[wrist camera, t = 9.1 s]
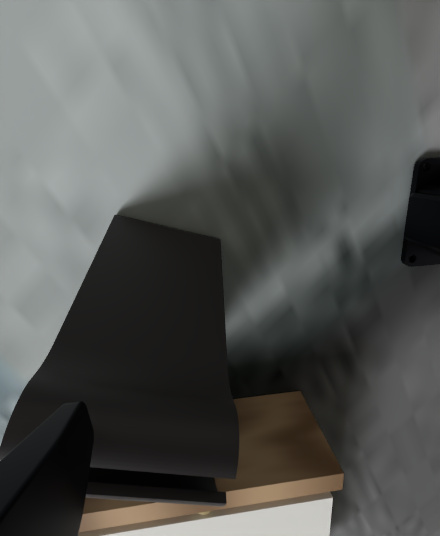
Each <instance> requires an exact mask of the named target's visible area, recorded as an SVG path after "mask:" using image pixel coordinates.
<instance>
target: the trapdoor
mask: <svg viewBox="0 0 440 536" xmlns="http://www.w3.org/2000/svg"><path fill="white" fill-rule="evenodd" d="M332 502H333V497H332V495H331V492H325V493H319V494H312V495H306V496H300V497H294V498H288V499H282V500H275V501H269V502H263V503H257V504H251V505H245V506H238V507H232V508H226V509H220V510H214V511H211V512H210V513H208V514H206V515H201V514H199V513H195V514H189V515H183V516H177V517H171V518H164V519H158V520H152V521H146V522H140V523H134V524H127V525H121V526H115V527H109V528H103V529H96V530H90V531H84V532H79V533H78V536H329V534H330V523H331V512H332Z"/></svg>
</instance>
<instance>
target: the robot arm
mask: <svg viewBox="0 0 440 536" xmlns="http://www.w3.org/2000/svg"><path fill="white" fill-rule="evenodd" d="M424 164H426V168H425V170H424V171H423V165H424ZM411 256H412V259H411V260H410V261H409V258H410V257H411ZM401 261H402V263H403V264H405V265H407V266H411V267H412V266H424V265H435V264H440V157H438V158H422V159H420V160H418V161H417V162H416V164H415V166H414V171H413V178H412V185H411V192H410V197H409V203H408V210H407V217H406V225H405V232H404V241H403V248H402V255H401ZM93 443H94V430H93V426H92V423H91V419H90V416H89V413H88V409H87V406H86V404H85V403H84V402H83V401H76V402H70V403H65V404H63V405H62V406H61V407H60V408H59V409H57V410H56V411H55V412H54V413H53V414H52V415H51V416H50V417H49V418H47V419H46V420H45V421H44V422H43V423H42V424H41V425H40V426H39V427H37V428H36V429H35V430H34V431H33V432H32V433H31V434H30V435H29V436H27V437H26V438H25V439H24V440H23V441H22V442H21V443H20V444H18V445H17V446H16V447H15V448H14V449H13V450H12V451H11V452H10V453H8V454H7V455H6V456H5V457H4V458H3V459H2V460H1V461H0V536H78V533H79V529H80V525H81V520H82V516H83V510H84V504H85V497H86V491H87V484H88V477H89V470H90V463H91V456H92V450H93Z"/></svg>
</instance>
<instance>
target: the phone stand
mask: <svg viewBox="0 0 440 536" xmlns="http://www.w3.org/2000/svg"><path fill="white" fill-rule="evenodd" d="M76 401H83V402H84V403H85V404H86V406H87V409H88V413H89V416H90V419H91V423H92V426H93V430H94V443H93V450H92V456H91V463H90V470H89V477H88V484H87V491H86V497H85V498H97V499H113V500H128V501H143V502H159V503H174V504H189V505H205V506H220V507H223V506H225V505H226V504H227V501H226V492H219V491H218V490H217V487H216V484H215V478H226V479H236V474H237V467H238V458H239V421H238V414H237V409H236V406H235V403H234V401H233V398H232V394H231V390H230V385H229V378H228V366H227V348H226V330H225V313H224V295H223V277H222V259H221V242H220V239H216V238H212V237H208V236H204V235H199V234H195V233H191V232H187V231H182V230H178V229H174V228H170V227H165V226H161V225H157V224H153V223H148V222H144V221H140V220H136V219H131V218H127V217H123V216H119V215H114V217H113V220H112V222H111V224H110V226H109V228H108V230H107V232H106V234H105V236H104V239H103V241H102V243H101V245H100V247H99V249H98V251H97V253H96V255H95V258H94V260H93V262H92V264H91V266H90V268H89V270H88V272H87V274H86V277H85V279H84V281H83V283H82V285H81V287H80V289H79V291H78V293H77V296H76V298H75V300H74V302H73V304H72V306H71V308H70V310H69V312H68V315H67V317H66V319H65V321H64V323H63V325H62V327H61V329H60V331H59V334H58V336H57V338H56V340H55V342H54V344H53V346H52V348H51V350H50V352H49V354H48V355H47V357H46V359H45V360H44V362H43V364H42V365H41V367H40V368H39V370H38V371H37V372H36V373H35V375H34V376H33V377H32V378H31V380H30V381H29V382H28V384H27V385H26V387H25V389H24V390H23V392H22V394H21V396H20V398H19V400H18V402H17V404H16V406H15V408H14V410H13V413H12V415H11V418H10V420H9V423H8V425H7V428H6V431H5V434H4V437H3V440H2V443H1V446H0V460H2V459H3V458H4V457H5V456H6V455H7V454H8V453H10V452H11V451H12V450H13V449H14V448H15V447H16V446H17V445H18V444H20V443H21V442H22V441H23V440H24V439H25V438H26V437H27V436H29V435H30V434H31V433H32V432H33V431H34V430H35V429H36V428H37V427H39V426H40V425H41V424H42V423H43V422H44V421H45V420H46V419H47V418H49V417H50V416H51V415H52V414H53V413H54V412H55V411H56V410H57V409H59V408H60V407H61V406H62V405H63V404H65V403H70V402H76Z"/></svg>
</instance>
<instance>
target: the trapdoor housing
mask: <svg viewBox="0 0 440 536" xmlns="http://www.w3.org/2000/svg"><path fill="white" fill-rule="evenodd" d="M233 401H234V403H235V406H236V409H237V414H238V421H239V458H238V467H237V474H236V479H226V478H215V484H216V487H217V490H218V491H219V492H226V501H227V504H226V505H225V506H223V507H220V506H205V505H189V504H174V503H159V502H143V501H128V500H113V499H97V498H85V504H84V510H83V516H82V520H81V525H80V529H79V532H84V531H90V530H96V529H103V528H109V527H115V526H121V525H127V524H134V523H140V522H146V521H152V520H158V519H164V518H171V517H177V516H183V515H189V514H195V513H199V514H201V515H206V514H208V513H210V512H211V511H214V510H220V509H226V508H232V507H238V506H245V505H251V504H257V503H263V502H269V501H275V500H282V499H288V498H294V497H300V496H306V495H312V494H319V493H325V492H331V491H337V490H342V488H343V479H344V472H343V470H342V469H341V467H340V465H339V463H338V461H337V459H336V457H335V455H334V453H333V452H332V450H331V448H330V446H329V444H328V442H327V440H326V438H325V437H324V435H323V433H322V431H321V429H320V427H319V425H318V423H317V421H316V420H315V418H314V416H313V414H312V412H311V410H310V408H309V406H308V405H307V403H306V401H305V399H304V397H303V395H302V393H301V391H294V392H286V393H279V394H271V395H263V396H255V397H247V398H239V399H233Z"/></svg>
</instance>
